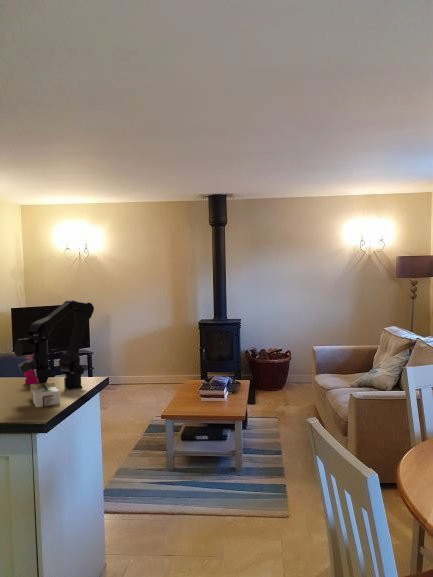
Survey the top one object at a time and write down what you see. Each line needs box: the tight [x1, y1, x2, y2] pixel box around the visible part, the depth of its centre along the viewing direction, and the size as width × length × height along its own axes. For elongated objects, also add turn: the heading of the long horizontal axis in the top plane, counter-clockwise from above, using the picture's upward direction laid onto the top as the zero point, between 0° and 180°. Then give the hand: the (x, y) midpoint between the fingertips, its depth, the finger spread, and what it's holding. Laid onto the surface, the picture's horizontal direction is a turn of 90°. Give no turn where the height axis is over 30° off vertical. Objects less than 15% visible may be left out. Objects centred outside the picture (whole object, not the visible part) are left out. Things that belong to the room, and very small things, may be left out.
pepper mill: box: [23, 354, 39, 385], centre depth 201 cm, size 7×7×20 cm
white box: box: [30, 381, 56, 407], centre depth 167 cm, size 9×15×6 cm, turn 32°
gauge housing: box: [32, 386, 61, 408], centre depth 166 cm, size 9×8×5 cm
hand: (41, 389), depth 175 cm, fingers closed
